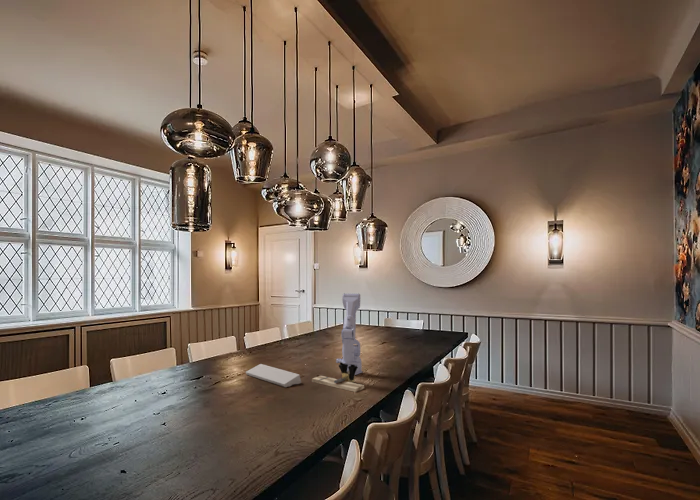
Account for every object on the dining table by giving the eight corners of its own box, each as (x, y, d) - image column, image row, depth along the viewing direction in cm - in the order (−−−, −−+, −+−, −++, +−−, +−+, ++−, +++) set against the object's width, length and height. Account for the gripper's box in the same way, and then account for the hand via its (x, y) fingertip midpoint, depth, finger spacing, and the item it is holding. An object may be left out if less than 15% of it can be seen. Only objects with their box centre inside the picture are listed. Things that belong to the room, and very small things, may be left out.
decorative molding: (286, 393, 183) (301, 383, 191) (284, 384, 183) (299, 374, 190) (247, 380, 206) (262, 371, 213) (245, 372, 206) (260, 363, 213)
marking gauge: (348, 380, 194) (348, 370, 194) (354, 381, 191) (354, 371, 192) (332, 386, 184) (332, 376, 184) (338, 387, 181) (338, 377, 182)
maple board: (320, 378, 198) (320, 375, 198) (364, 388, 181) (364, 385, 181) (311, 381, 192) (311, 378, 193) (355, 392, 175) (355, 388, 176)
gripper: (332, 351, 193) (332, 378, 192) (354, 355, 184) (354, 383, 183) (340, 349, 198) (340, 375, 198) (363, 352, 190) (363, 380, 189)
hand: (348, 379), depth 191 cm, fingers closed on marking gauge, 4 cm apart
